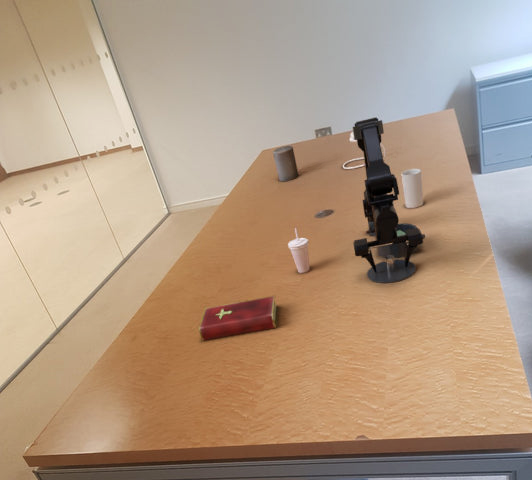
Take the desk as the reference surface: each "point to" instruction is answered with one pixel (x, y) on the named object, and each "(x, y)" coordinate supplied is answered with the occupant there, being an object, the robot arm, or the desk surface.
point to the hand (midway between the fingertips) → (390, 269)
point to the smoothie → (300, 253)
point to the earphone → (357, 158)
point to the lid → (391, 271)
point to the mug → (412, 188)
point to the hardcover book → (238, 318)
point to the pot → (398, 248)
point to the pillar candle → (285, 163)
